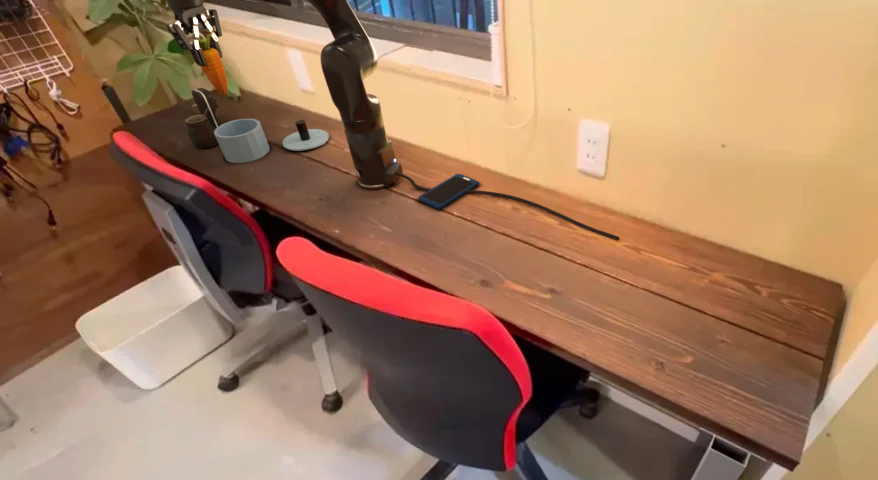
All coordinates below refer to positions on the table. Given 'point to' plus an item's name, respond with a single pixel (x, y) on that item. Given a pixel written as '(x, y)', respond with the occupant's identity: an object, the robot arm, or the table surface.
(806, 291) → the table surface
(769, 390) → the table surface
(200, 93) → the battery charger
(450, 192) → the cell phone
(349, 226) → the table surface
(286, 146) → the lid
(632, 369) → the table surface
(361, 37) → the robot arm
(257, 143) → the pot
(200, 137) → the mate gourd
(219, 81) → the carrot
